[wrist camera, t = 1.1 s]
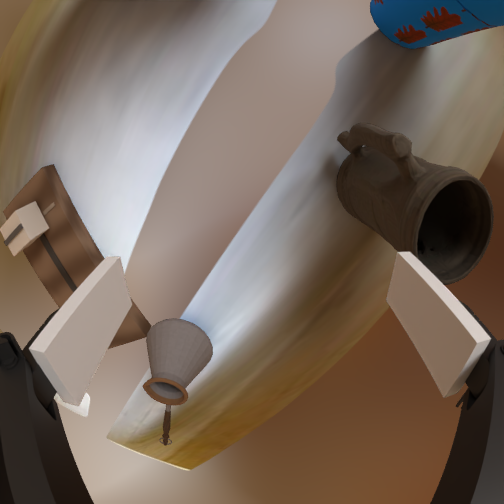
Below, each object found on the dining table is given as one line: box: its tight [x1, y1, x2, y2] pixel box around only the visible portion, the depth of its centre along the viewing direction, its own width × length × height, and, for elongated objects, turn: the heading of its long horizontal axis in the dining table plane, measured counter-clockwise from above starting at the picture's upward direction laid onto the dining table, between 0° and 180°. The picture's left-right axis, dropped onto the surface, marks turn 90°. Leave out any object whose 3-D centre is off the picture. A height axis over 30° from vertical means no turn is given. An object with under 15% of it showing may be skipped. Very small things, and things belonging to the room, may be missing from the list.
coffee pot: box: [143, 319, 213, 445], centre depth 41 cm, size 21×12×15 cm, turn 167°
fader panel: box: [3, 164, 151, 349], centre depth 39 cm, size 32×14×3 cm, turn 25°
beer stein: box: [337, 123, 494, 285], centre depth 26 cm, size 15×11×20 cm
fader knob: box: [0, 201, 49, 256], centre depth 31 cm, size 5×6×5 cm
